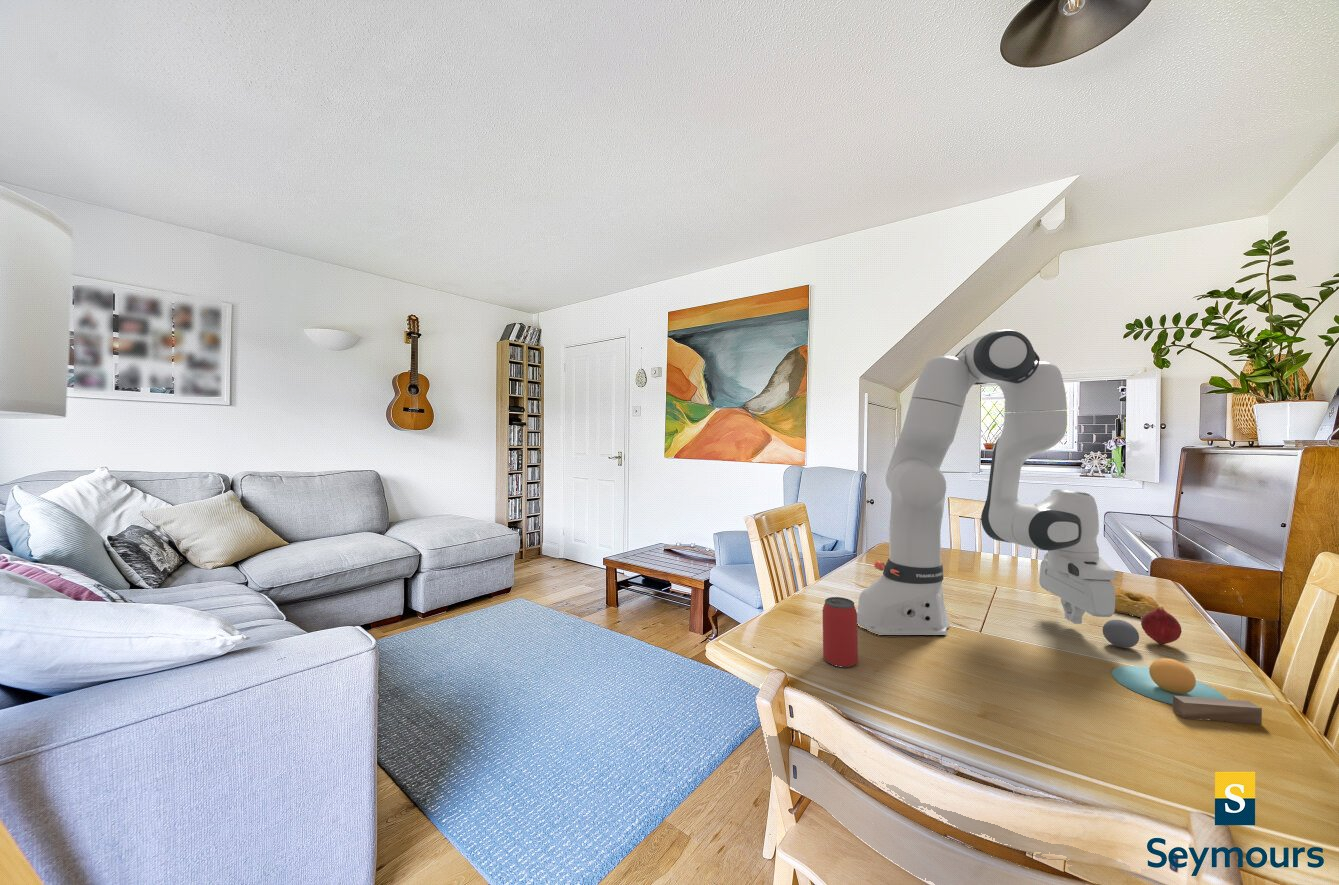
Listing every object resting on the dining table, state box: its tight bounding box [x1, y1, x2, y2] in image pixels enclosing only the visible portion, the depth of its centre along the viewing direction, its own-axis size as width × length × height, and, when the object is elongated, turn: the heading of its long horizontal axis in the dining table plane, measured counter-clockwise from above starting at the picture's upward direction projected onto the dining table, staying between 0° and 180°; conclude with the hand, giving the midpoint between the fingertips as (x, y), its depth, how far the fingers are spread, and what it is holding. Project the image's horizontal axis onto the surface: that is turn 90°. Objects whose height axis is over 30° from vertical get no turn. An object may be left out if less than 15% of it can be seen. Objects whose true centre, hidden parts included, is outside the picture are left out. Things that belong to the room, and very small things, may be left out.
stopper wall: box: [1172, 696, 1263, 725], centre depth 74 cm, size 2×10×2 cm, turn 79°
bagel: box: [1114, 588, 1160, 619], centre depth 116 cm, size 10×11×5 cm
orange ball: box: [1148, 657, 1197, 694], centre depth 81 cm, size 6×6×6 cm
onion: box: [1140, 605, 1182, 646], centre depth 99 cm, size 6×6×8 cm
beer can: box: [822, 596, 859, 668], centre depth 94 cm, size 7×7×12 cm
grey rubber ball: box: [1102, 619, 1140, 649], centre depth 98 cm, size 6×6×6 cm
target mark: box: [1111, 665, 1228, 706], centre depth 83 cm, size 14×14×1 cm
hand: (1073, 621), depth 107 cm, fingers closed
